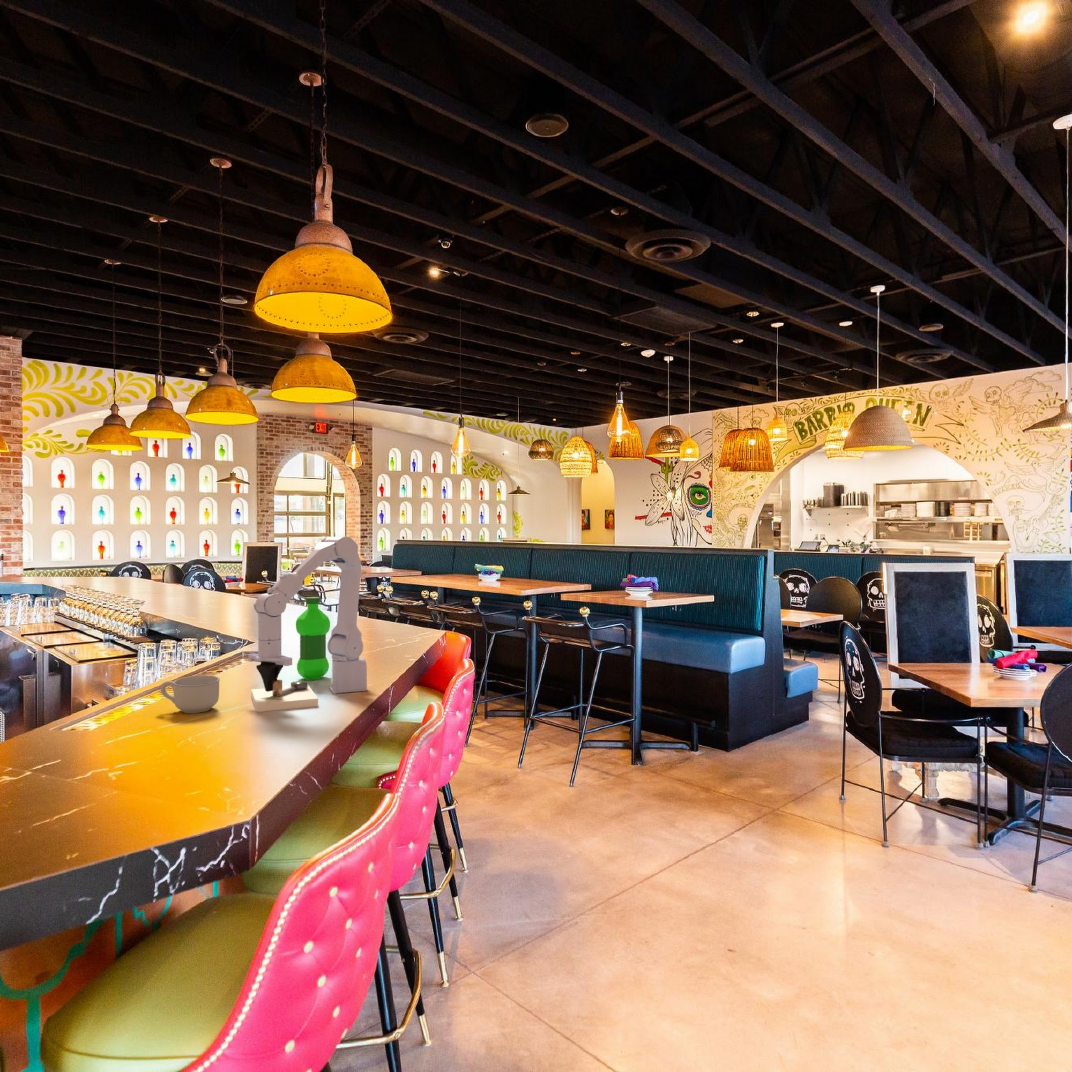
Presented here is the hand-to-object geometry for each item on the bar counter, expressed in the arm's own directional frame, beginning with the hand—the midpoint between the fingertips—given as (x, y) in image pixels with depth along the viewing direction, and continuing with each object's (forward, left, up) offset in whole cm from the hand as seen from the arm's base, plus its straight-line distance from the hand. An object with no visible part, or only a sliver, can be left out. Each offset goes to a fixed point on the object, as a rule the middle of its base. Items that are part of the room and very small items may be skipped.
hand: (270, 690), depth 192 cm
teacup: (+19, -1, -4) cm, 19 cm away
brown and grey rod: (-5, -2, -1) cm, 5 cm away
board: (-4, -1, -3) cm, 5 cm away
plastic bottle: (-15, -31, -4) cm, 35 cm away
